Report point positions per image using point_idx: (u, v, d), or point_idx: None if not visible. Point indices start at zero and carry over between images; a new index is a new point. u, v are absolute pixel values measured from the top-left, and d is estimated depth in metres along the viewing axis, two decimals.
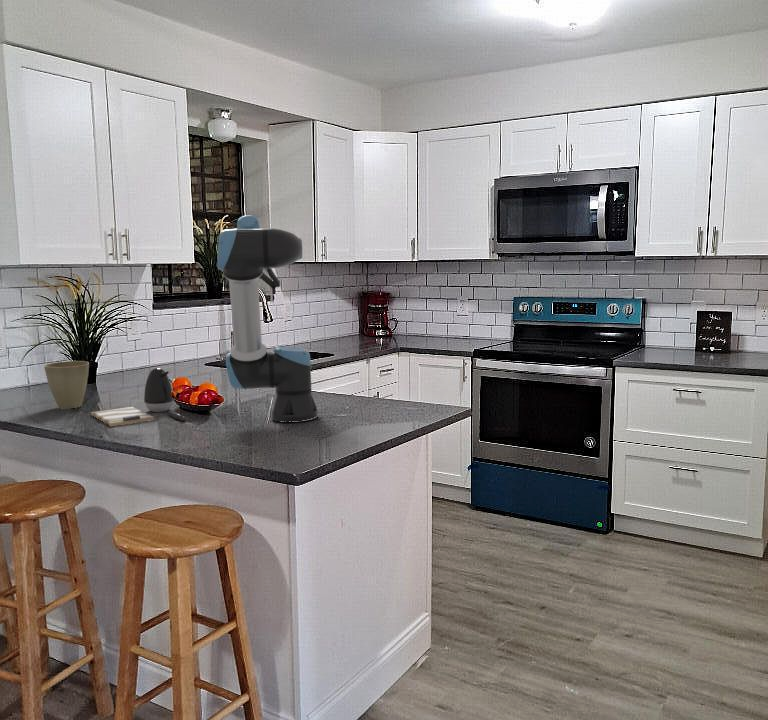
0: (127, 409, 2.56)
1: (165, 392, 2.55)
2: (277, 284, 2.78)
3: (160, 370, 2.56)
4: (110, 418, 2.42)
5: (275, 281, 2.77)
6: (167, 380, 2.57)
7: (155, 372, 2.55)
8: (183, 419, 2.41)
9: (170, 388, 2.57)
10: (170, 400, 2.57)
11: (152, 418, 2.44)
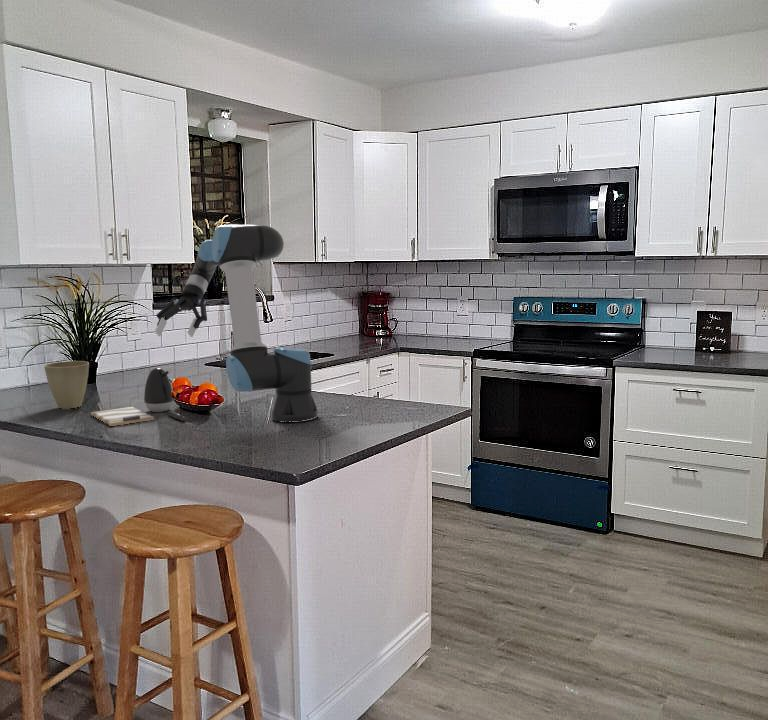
0: (127, 409, 2.56)
1: (165, 392, 2.55)
2: (202, 314, 2.67)
3: (160, 370, 2.56)
4: (110, 418, 2.42)
5: (202, 311, 2.68)
6: (167, 380, 2.57)
7: (155, 372, 2.55)
8: (183, 419, 2.41)
9: (170, 388, 2.57)
10: (170, 400, 2.57)
11: (152, 418, 2.44)
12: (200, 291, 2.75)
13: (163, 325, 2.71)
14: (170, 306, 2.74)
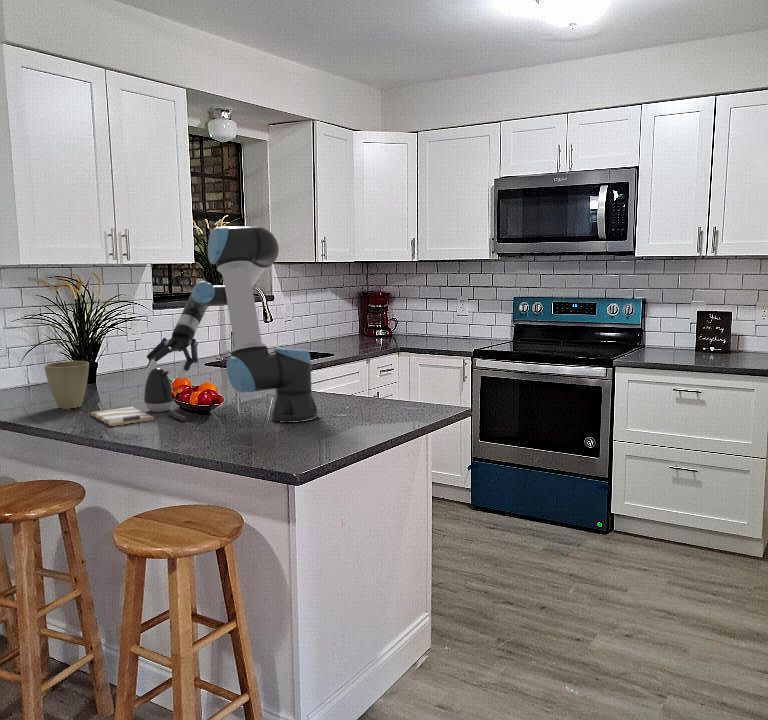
0: (127, 409, 2.56)
1: (165, 392, 2.55)
2: (193, 356, 2.63)
3: (160, 370, 2.56)
4: (110, 418, 2.42)
5: (193, 352, 2.64)
6: (167, 380, 2.57)
7: (155, 372, 2.55)
8: (183, 419, 2.41)
9: (170, 388, 2.57)
10: (170, 400, 2.57)
11: (152, 418, 2.44)
12: (191, 331, 2.71)
13: (153, 366, 2.67)
14: (161, 347, 2.71)
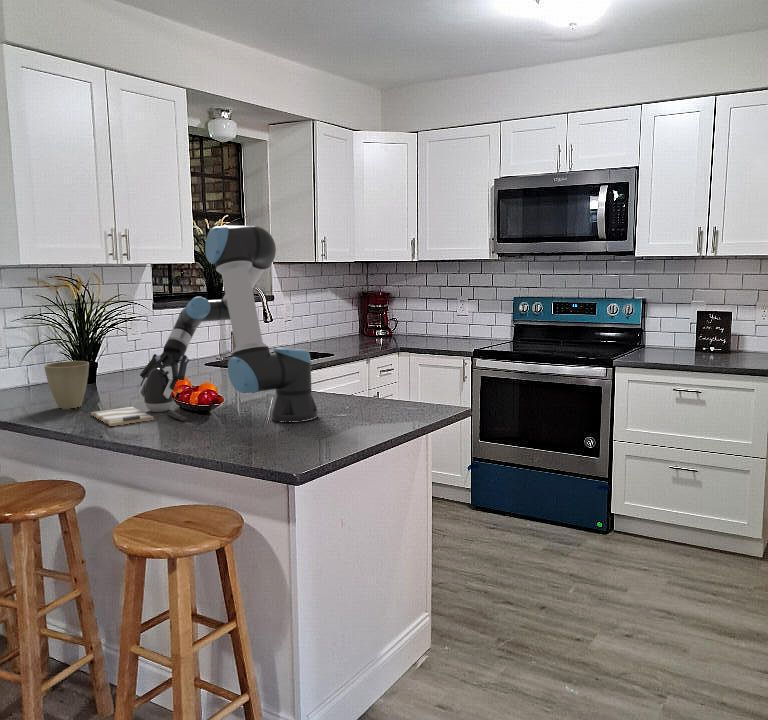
0: (127, 409, 2.56)
1: None
2: (179, 374, 2.57)
3: (160, 370, 2.56)
4: (110, 418, 2.42)
5: (180, 370, 2.58)
6: (167, 380, 2.57)
7: (155, 372, 2.55)
8: (183, 419, 2.41)
9: None
10: (170, 400, 2.57)
11: (152, 418, 2.44)
12: (183, 346, 2.65)
13: None
14: (152, 363, 2.64)
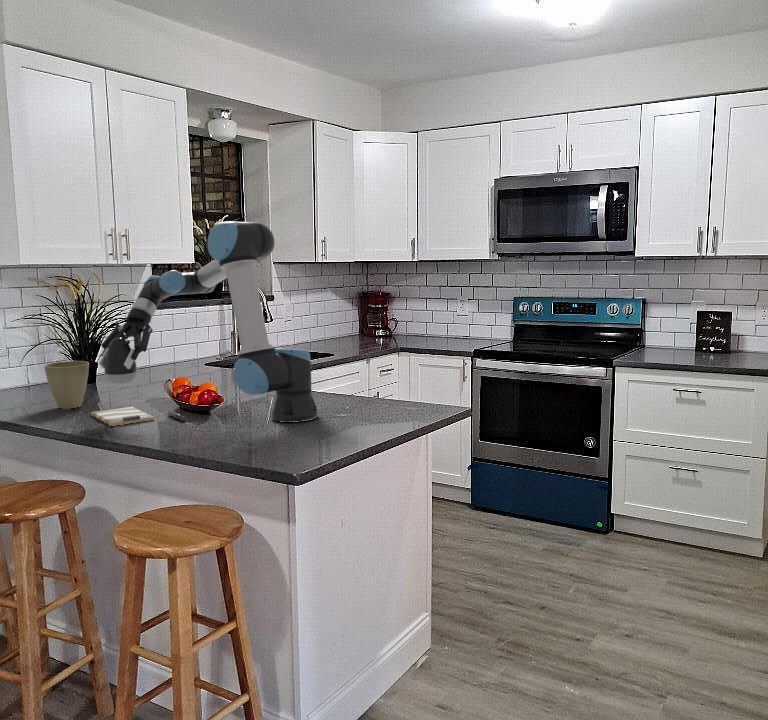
0: (127, 409, 2.56)
1: None
2: (141, 344, 2.46)
3: (121, 340, 2.45)
4: (110, 418, 2.42)
5: (142, 340, 2.47)
6: (129, 351, 2.45)
7: (115, 342, 2.44)
8: (183, 419, 2.41)
9: None
10: (132, 371, 2.45)
11: (152, 418, 2.44)
12: (146, 316, 2.54)
13: None
14: (115, 334, 2.53)
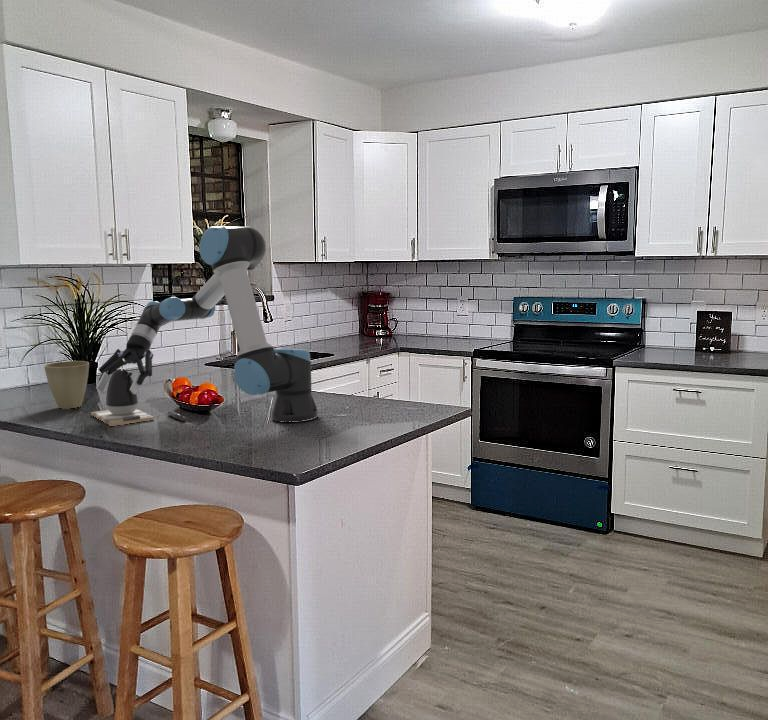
0: None
1: (128, 394, 2.44)
2: (147, 369, 2.46)
3: (123, 371, 2.45)
4: (110, 418, 2.42)
5: (147, 365, 2.47)
6: (131, 382, 2.46)
7: (117, 374, 2.44)
8: (183, 419, 2.41)
9: None
10: (133, 403, 2.46)
11: (152, 418, 2.44)
12: (146, 342, 2.54)
13: (106, 380, 2.50)
14: (114, 359, 2.54)
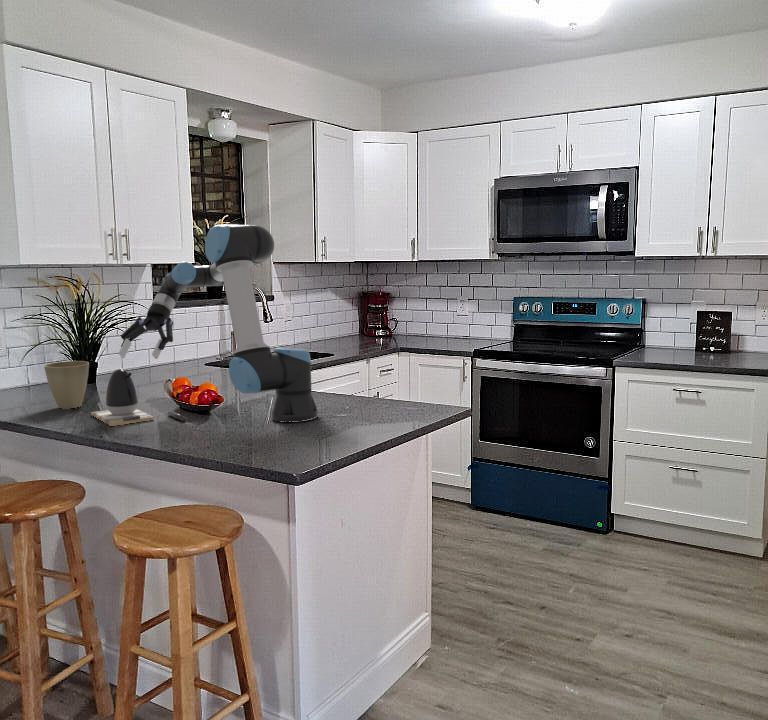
0: None
1: (127, 394, 2.44)
2: (168, 335, 2.57)
3: (123, 371, 2.45)
4: (110, 418, 2.42)
5: (168, 331, 2.58)
6: (130, 382, 2.46)
7: (117, 374, 2.44)
8: (183, 419, 2.41)
9: (133, 390, 2.46)
10: (133, 403, 2.46)
11: (152, 418, 2.44)
12: (166, 310, 2.65)
13: (127, 346, 2.61)
14: (135, 326, 2.64)
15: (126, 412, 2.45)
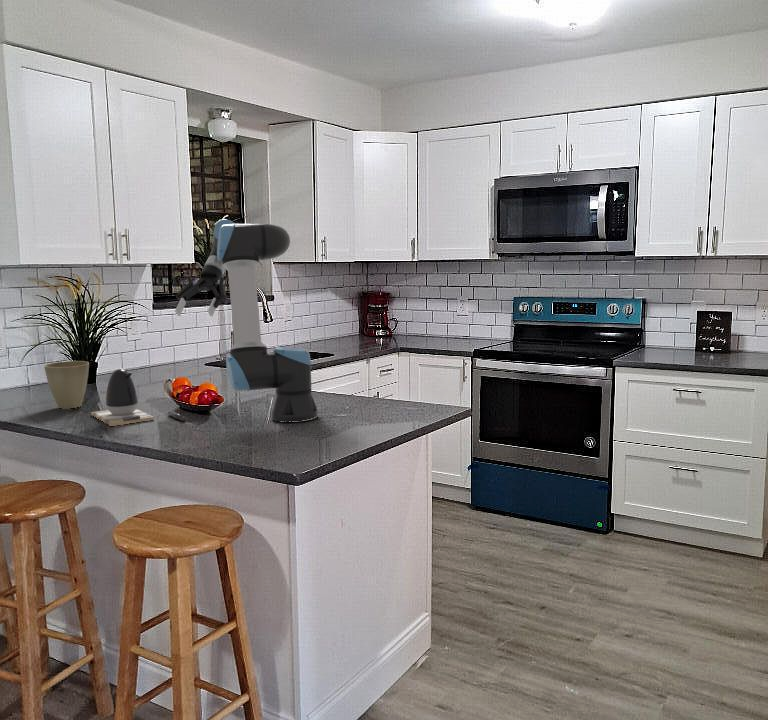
0: None
1: (127, 394, 2.44)
2: (222, 293, 2.69)
3: (123, 371, 2.45)
4: (110, 418, 2.42)
5: (222, 290, 2.70)
6: (130, 382, 2.46)
7: (117, 374, 2.44)
8: (183, 419, 2.41)
9: (133, 390, 2.46)
10: (133, 403, 2.46)
11: (152, 418, 2.44)
12: (219, 272, 2.77)
13: (183, 305, 2.73)
14: (189, 286, 2.77)
15: (126, 412, 2.45)
